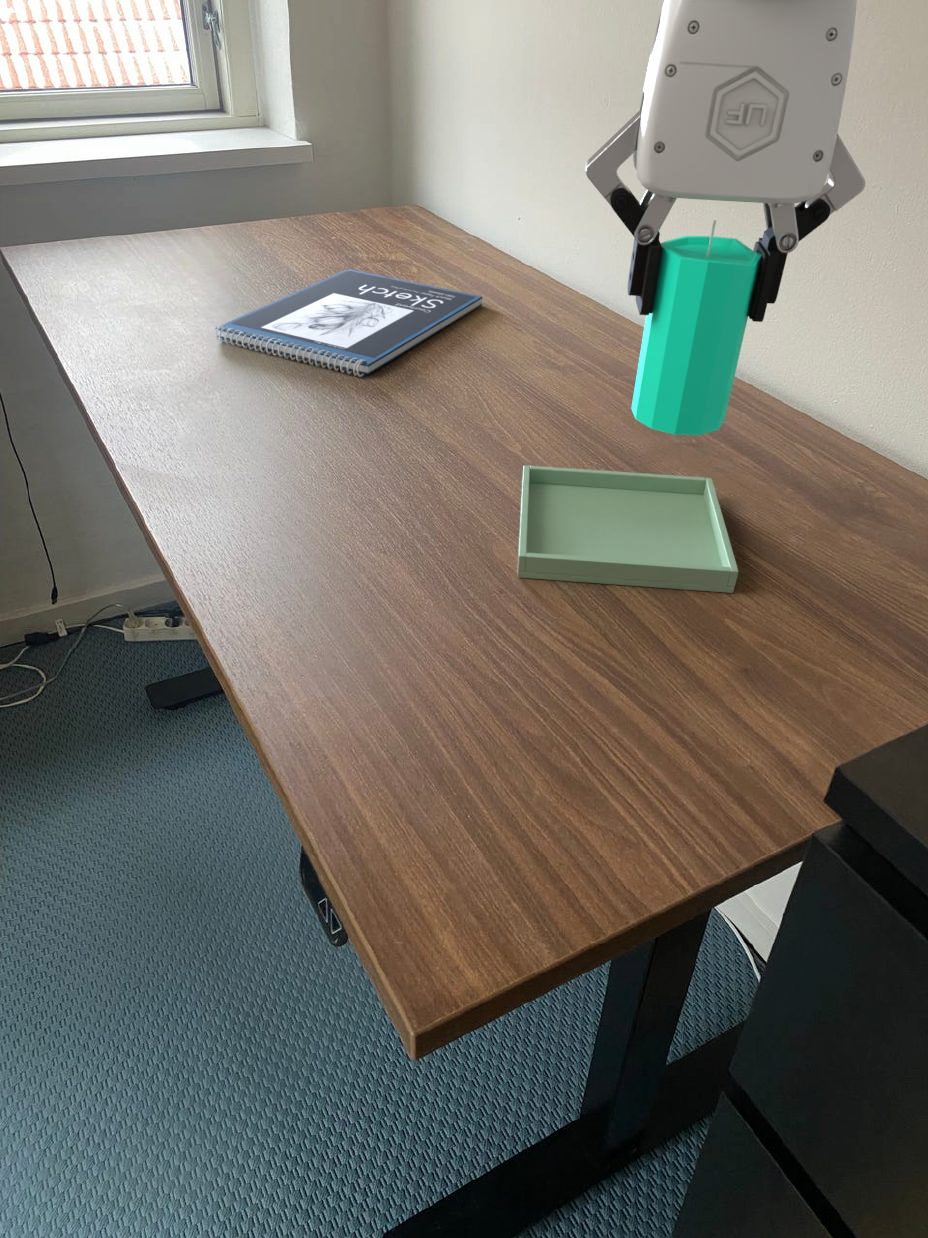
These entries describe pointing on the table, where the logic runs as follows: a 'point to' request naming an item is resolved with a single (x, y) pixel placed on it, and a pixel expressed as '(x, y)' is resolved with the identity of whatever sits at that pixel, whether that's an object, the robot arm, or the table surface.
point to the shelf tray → (623, 530)
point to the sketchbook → (350, 321)
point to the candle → (694, 334)
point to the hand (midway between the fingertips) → (697, 307)
